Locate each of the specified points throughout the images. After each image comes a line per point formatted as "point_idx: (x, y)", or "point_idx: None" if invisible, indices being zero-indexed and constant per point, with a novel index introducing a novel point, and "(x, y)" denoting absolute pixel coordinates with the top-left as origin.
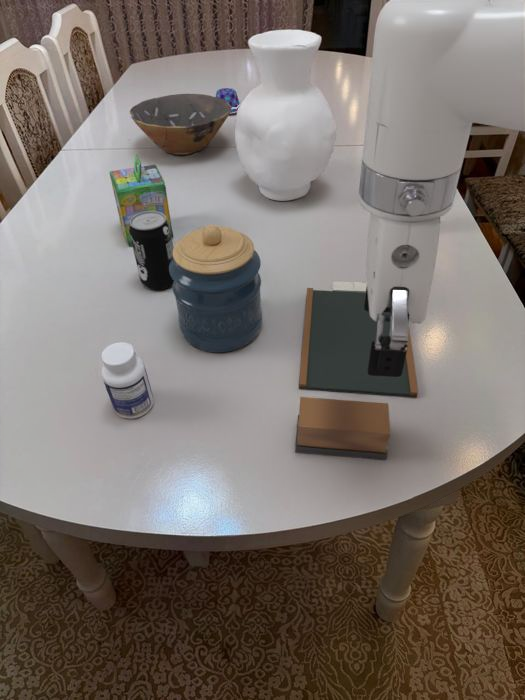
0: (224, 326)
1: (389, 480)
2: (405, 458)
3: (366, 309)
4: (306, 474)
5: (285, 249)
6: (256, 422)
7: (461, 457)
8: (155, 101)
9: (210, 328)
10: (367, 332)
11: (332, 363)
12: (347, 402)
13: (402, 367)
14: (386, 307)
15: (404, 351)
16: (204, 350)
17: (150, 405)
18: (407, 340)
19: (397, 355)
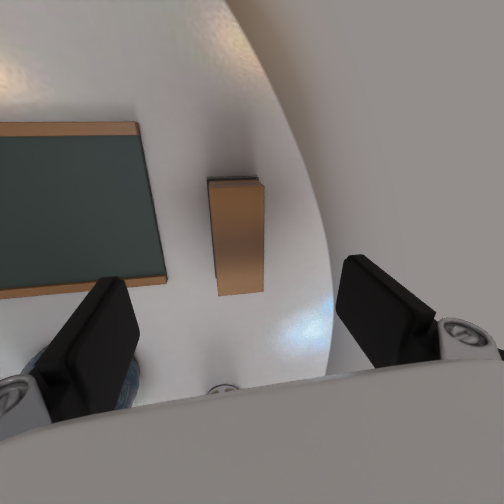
0: (120, 393)
1: (282, 171)
2: (250, 149)
3: (138, 337)
4: (280, 256)
5: None
6: (225, 308)
7: (239, 63)
8: None
9: (128, 401)
10: (10, 202)
11: (111, 249)
12: (217, 243)
13: (377, 267)
14: (123, 302)
15: (461, 323)
16: (139, 374)
17: (226, 388)
18: (496, 353)
19: (433, 321)
